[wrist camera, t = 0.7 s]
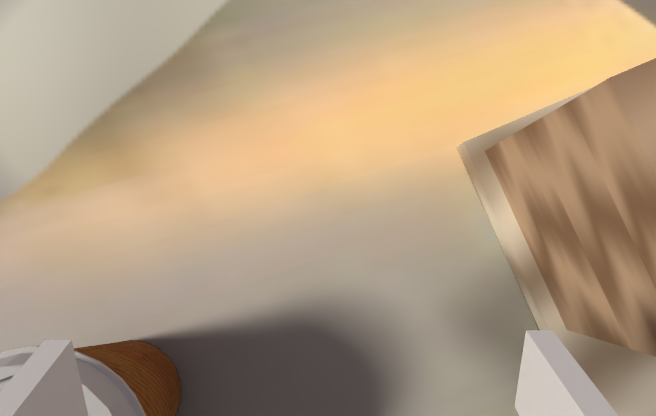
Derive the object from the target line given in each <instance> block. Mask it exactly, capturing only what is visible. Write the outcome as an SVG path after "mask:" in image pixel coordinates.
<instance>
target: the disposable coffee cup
mask: <svg viewBox="0 0 656 416" xmlns="http://www.w3.org/2000/svg"><path fill="white" fill-rule="evenodd" d="M38 347H39V346H29V347H23V348H16V349H11V350H7V351H4V352H1V353H0V391H1V390H2V389H3V388H4V387H5V386H6V384H7V383H8V382H9V381H10V380H11V379H12V377H13V376H14V375H15V374H16V373H17V372H18V370H19V369H20V368H21V367H22V366H23V365H24V364H25V362H26V361H27V360H28V359H29V358H30V357H31V355H32V354H33V353H34V352H35V351H36V350H37V348H38ZM74 352H75V357H76V361H77V366H78V371H79V375H80V380H81V384H82V389H83V393H84V398H85V402H86V407H87V411H88V416H175V415H176V413H177V411H178V407H179V404H180V399H181V385H180V378H179V376H178V373H177V370H176V368H175V366H174V364H173V362H172V361H171V360H170V359H169V358H168V356H167V355H166V354H165V353H164V352H162V351H161V350H160V349H158V348H156V347H154V346H152V345H150V344H148V343H145V342H141V341H123V342H117V343H110V344H103V345H96V346H88V347H82V348H75V349H74Z"/></svg>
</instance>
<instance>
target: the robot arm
mask: <svg viewBox="0 0 656 416" xmlns="http://www.w3.org/2000/svg"><path fill="white" fill-rule="evenodd" d="M515 408H516V410H517V412H518V414H519V416H618V414H617V413H616V412H615V411H614V409H613V408H612V407H611V405H610V404H609V403H608V402H607V400H606V399H605V398H604V396H603V395H602V394H601V392H600V391H599V390H598V389H597V387H596V386H595V385H594V383H593V382H592V381H591V380H590V378H589V377H588V376H587V374H586V373H585V372H584V371H583V369H582V368H581V367H580V365H579V364H578V363H577V361H576V360H575V359H574V358H573V356H572V355H571V354H570V352H569V351H568V350H567V349H566V347H565V346H564V345H563V343H562V342H561V341H560V339H559V338H558V337H557V336H556V334H555V333H554V332H553V330H526V334H525V341H524V347H523V354H522V360H521V367H520V374H519V380H518V387H517V394H516V400H515ZM0 416H88V411H87V407H86V402H85V398H84V393H83V389H82V384H81V380H80V375H79V371H78V366H77V361H76V357H75V352H74V348H73V343H72V340H44V341H43V343H42V344H41V345H40V346H39V347H38V348H37V350H36V351H35V352H34V353H33V354H32V355H31V357H30V358H29V359H28V360H27V361H26V362H25V364H24V365H23V366H22V367H21V368H20V369H19V370H18V372H17V373H16V374H15V375H14V376H13V377H12V379H11V380H10V381H9V382H8V383H7V384H6V386H5V387H4V388H3V389H2V390H1V391H0Z"/></svg>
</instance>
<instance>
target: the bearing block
mask: <svg viewBox="0 0 656 416" xmlns="http://www.w3.org/2000/svg"><path fill="white" fill-rule="evenodd" d="M457 150H458V152H459V154H460V156H461V158H462V161H463V163H464V165H465V167H466V169H467V172H468V174H469V176H470V178H471V180H472V183H473V185H474V187H475V189H476V191H477V194H478V196H479V198H480V200H481V202H482V205H483V207H484V209H485V211H486V213H487V216H488V218H489V220H490V222H491V224H492V227H493V229H494V231H495V233H496V235H497V237H498V240H499V242H500V244H501V246H502V248H503V251H504V253H505V255H506V257H507V259H508V262H509V264H510V266H511V268H512V270H513V273H514V275H515V277H516V279H517V281H518V284H519V286H520V288H521V290H522V292H523V295H524V297H525V299H526V301H527V303H528V306H529V308H530V310H531V312H532V314H533V317H534V319H535V321H536V323H537V325H538V328H539V330H553V332H554V333H555V334H556V336H557V337H558V338H559V339H560V341H561V342H562V343H563V345H564V346H565V347H566V349H567V350H568V351H569V352H570V354H571V355H572V356H573V358H574V359H575V360H576V361H577V363H578V364H579V365H580V367H581V368H582V369H583V371H584V372H585V373H586V374H587V376H588V377H589V378H590V380H591V381H592V382H593V383H594V385H595V386H596V387H597V389H598V390H599V391H600V392H601V394H602V395H603V396H604V398H605V399H606V400H607V402H608V403H609V404H610V405H611V407H612V408H613V409H614V411H615V412H616V413H617V414H618V416H656V58H655V59H653V60H651V61H648V62H646V63H643V64H641V65H639V66H636V67H634V68H632V69H629V70H627V71H625V72H622V73H620V74H618V75H615V76H613V77H610V78H609V79H607V80H605V81H603V82H602V83H600V84H598V85H597V86H595V87H593V88H590V89H588V90H586V91H583V92H581V93H579V94H576V95H574V96H572V97H569V98H567V99H565V100H562V101H560V102H557V103H555V104H553V105H550V106H548V107H546V108H543V109H541V110H539V111H536V112H534V113H532V114H529V115H527V116H525V117H522V118H520V119H517V120H515V121H513V122H510V123H508V124H506V125H503V126H501V127H499V128H496V129H494V130H492V131H489V132H487V133H485V134H482V135H480V136H477V137H475V138H473V139H470V140H468V141H466V142H463V143H462V144H461V145H459V146H458V147H457Z"/></svg>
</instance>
